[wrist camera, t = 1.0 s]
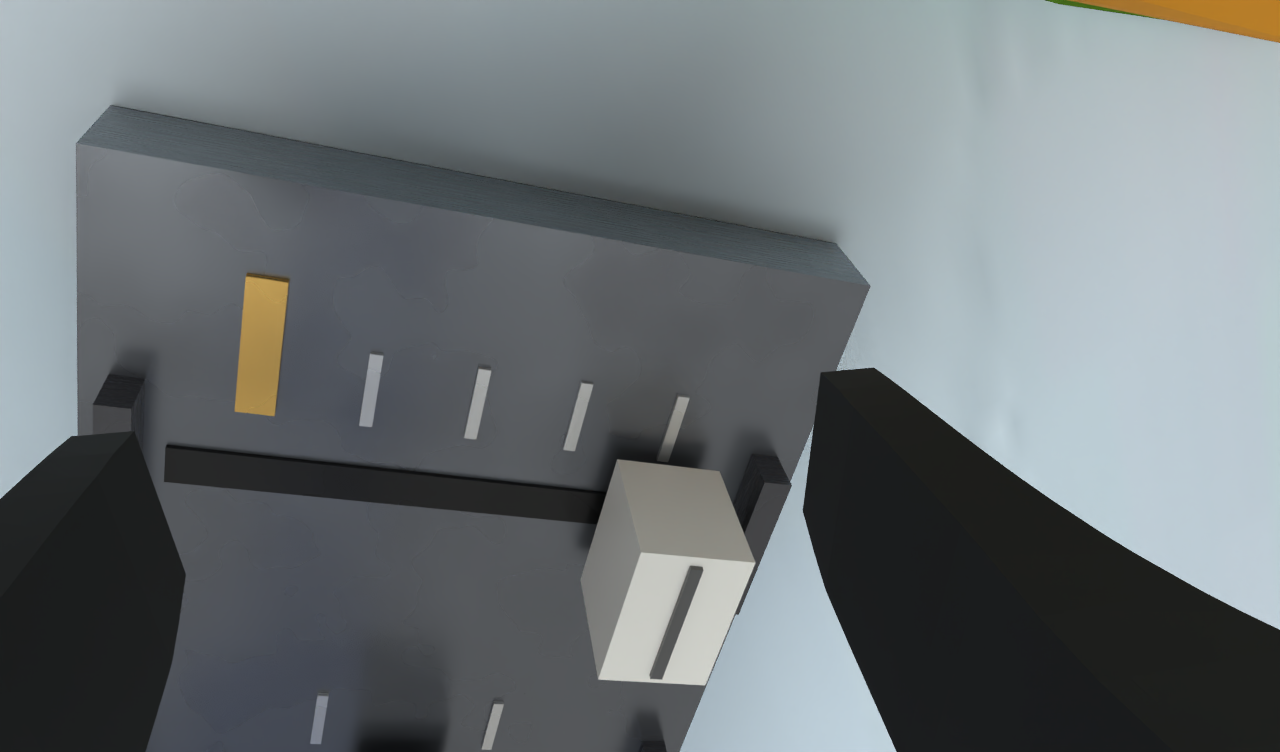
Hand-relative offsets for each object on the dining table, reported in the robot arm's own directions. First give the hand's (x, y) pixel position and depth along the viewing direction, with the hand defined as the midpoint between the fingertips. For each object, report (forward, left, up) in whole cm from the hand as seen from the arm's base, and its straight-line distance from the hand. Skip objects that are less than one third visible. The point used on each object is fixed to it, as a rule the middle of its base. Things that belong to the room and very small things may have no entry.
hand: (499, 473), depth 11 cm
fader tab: (-6, -5, -7) cm, 11 cm away
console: (-10, -1, -10) cm, 14 cm away
